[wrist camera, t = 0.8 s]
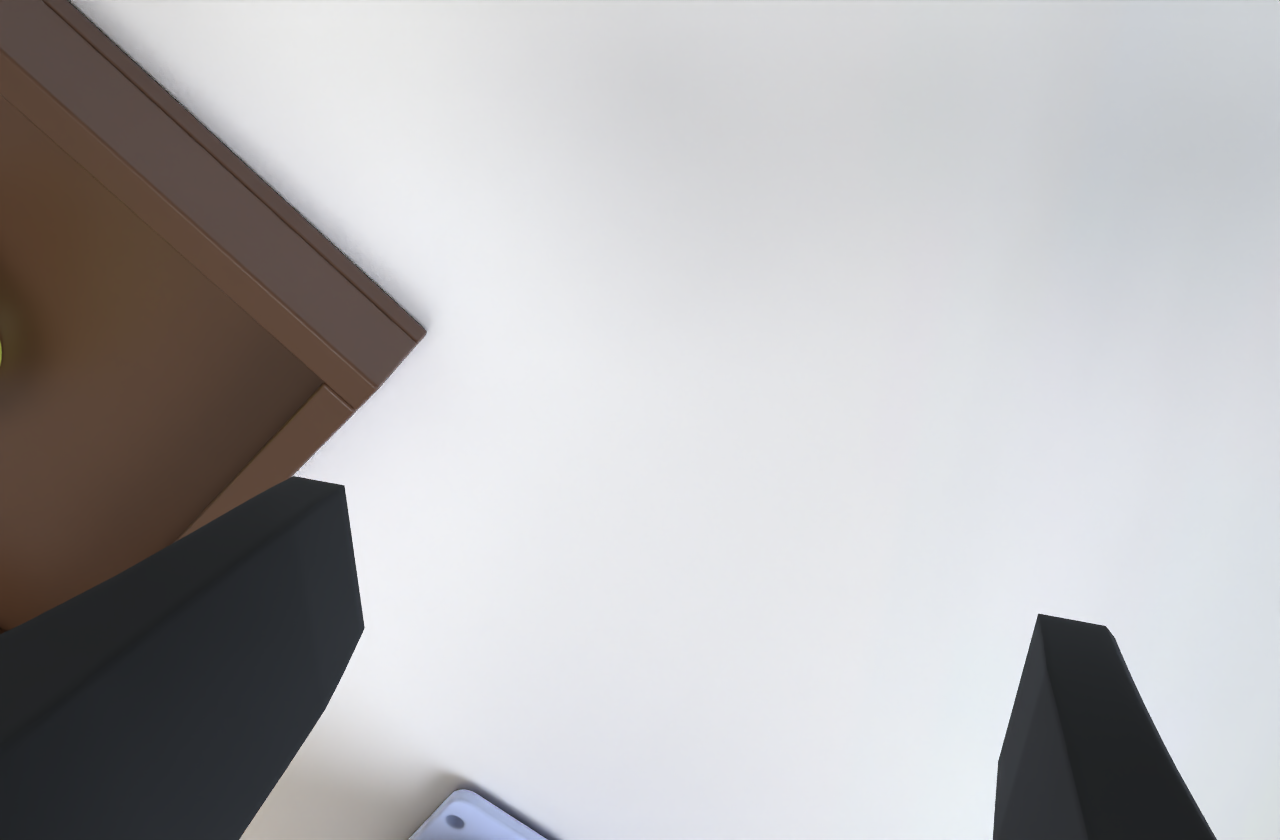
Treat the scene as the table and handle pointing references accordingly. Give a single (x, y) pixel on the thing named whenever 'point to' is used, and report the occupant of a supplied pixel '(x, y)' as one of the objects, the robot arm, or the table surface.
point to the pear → (0, 352)
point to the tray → (150, 318)
